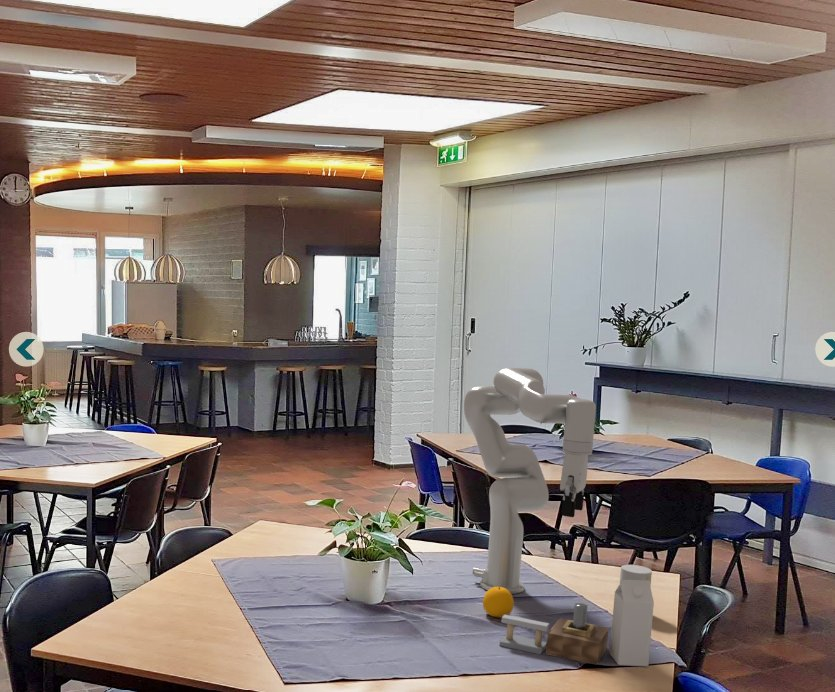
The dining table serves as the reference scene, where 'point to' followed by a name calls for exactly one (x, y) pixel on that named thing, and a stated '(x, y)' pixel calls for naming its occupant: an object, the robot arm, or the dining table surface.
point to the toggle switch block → (577, 642)
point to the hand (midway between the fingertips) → (572, 512)
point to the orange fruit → (498, 602)
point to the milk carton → (632, 623)
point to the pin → (580, 616)
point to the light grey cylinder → (635, 573)
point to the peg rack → (521, 642)
